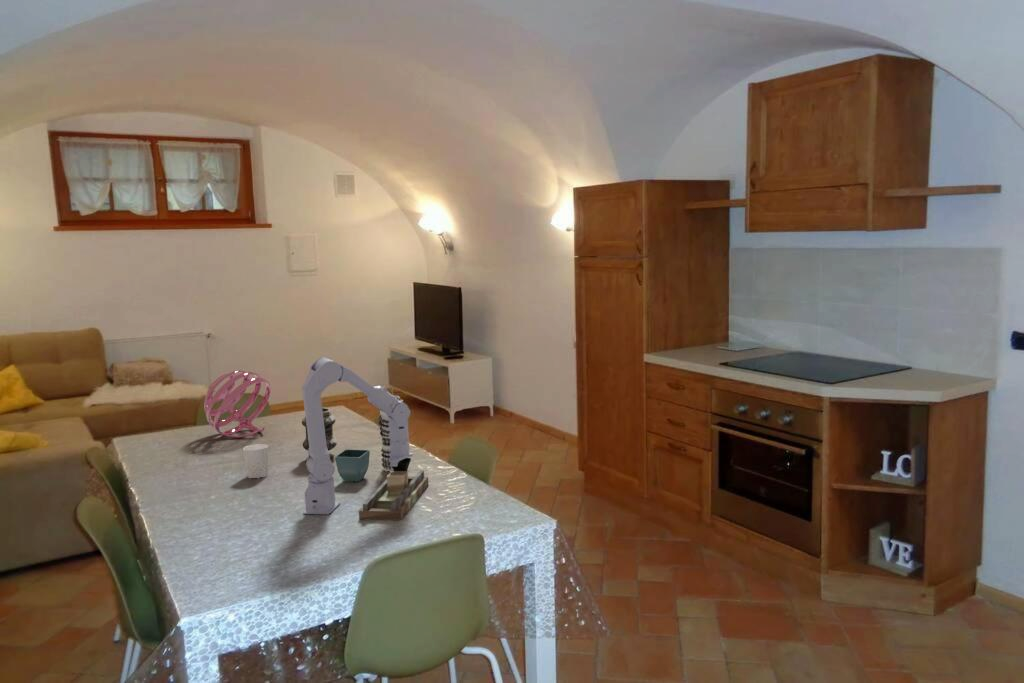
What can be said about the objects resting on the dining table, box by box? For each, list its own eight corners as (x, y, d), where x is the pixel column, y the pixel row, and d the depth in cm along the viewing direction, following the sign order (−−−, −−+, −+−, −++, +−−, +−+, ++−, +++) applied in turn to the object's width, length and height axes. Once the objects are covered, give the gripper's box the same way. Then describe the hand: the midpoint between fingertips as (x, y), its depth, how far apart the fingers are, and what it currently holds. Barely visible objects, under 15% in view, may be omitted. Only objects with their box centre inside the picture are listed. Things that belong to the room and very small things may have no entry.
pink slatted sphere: (296, 386, 318) (249, 348, 324) (242, 416, 296) (194, 374, 302) (283, 431, 334) (239, 394, 340) (232, 463, 312) (186, 423, 318)
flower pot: (361, 484, 248) (359, 457, 247) (335, 483, 250) (334, 456, 249) (371, 476, 257) (370, 449, 256) (347, 475, 259) (345, 449, 258)
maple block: (403, 492, 231) (402, 476, 230) (387, 492, 231) (386, 476, 231) (408, 487, 236) (407, 471, 235) (392, 487, 236) (391, 471, 236)
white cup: (240, 477, 260) (237, 448, 259) (258, 471, 267) (255, 443, 265) (257, 480, 256) (255, 451, 255) (274, 473, 263) (272, 445, 262)
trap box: (400, 520, 215) (399, 504, 214) (359, 519, 217) (358, 503, 216) (428, 484, 246) (427, 470, 245) (391, 483, 248) (391, 470, 247)
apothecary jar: (340, 460, 277) (337, 411, 274) (305, 465, 272) (302, 415, 270) (335, 452, 288) (332, 404, 285) (301, 456, 284) (298, 408, 281)
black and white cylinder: (412, 464, 268) (409, 394, 265) (401, 472, 259) (398, 399, 256) (388, 463, 271) (384, 393, 267) (376, 471, 262) (372, 399, 258)
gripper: (405, 445, 228) (408, 490, 230) (418, 433, 242) (420, 475, 244) (382, 445, 229) (385, 490, 231) (396, 433, 243) (398, 475, 245)
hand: (401, 482), depth 238 cm, fingers closed
